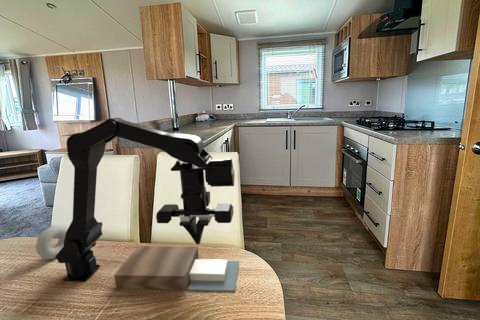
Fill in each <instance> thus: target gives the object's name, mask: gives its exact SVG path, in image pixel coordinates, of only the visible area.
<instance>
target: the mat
mask: <svg viewBox="0 0 480 320" xmlns="http://www.w3.org/2000/svg"><path fill="white" fill-rule="evenodd" d="M227 262H228V267H227V272H226V277H225V281H203V280H190V282H189V285H188V287H187V290H188V291H192V292H193V291H194V292H230V293H231V292H232V293H233V292H235V291H236V286H237V279H238V271H239V265H240V261H239V260H227Z"/></svg>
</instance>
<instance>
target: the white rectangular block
mask: <svg viewBox="0 0 480 320" xmlns="http://www.w3.org/2000/svg"><path fill="white" fill-rule="evenodd" d="M227 261H228V259H210V258H209V259H207V258H203V259H201V258H199V259H195V261H194V263H193V266H192V268H191V271H190V273H189V275H190V281H191V280H203V281H225V277H226V272H227V267H228V262H227Z"/></svg>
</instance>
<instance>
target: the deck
mask: <svg viewBox="0 0 480 320" xmlns="http://www.w3.org/2000/svg"><path fill="white" fill-rule="evenodd" d="M199 255H200V254H199V246H184V245H183V246H177V245H176V246H171V245H170V246H168V245H167V246H164V245H163V246H162V245H161V246H160V245H159V246H158V245H138V246H137V247H136V248H135V249H134V251H133V252H132V253H131V254H130V255H129V256H128V258H127V259H126V260H125V261H124V262H123V264H122V265H121V266H120V267H119V269H117V270H116V272H115V273H114V274H113V278H114V283H115V284H114V285H115V289H116V290H146V291H147V290H148V291H150V290H151V291H152V290H153V291H187V290H188V288H189V286H190V283H191V280H190V275H189V273H190V271H191V268H192V266H193V263H194V261H195V259H200V257H199Z"/></svg>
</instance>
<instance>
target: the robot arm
mask: <svg viewBox="0 0 480 320" xmlns="http://www.w3.org/2000/svg"><path fill="white" fill-rule="evenodd" d="M116 138H121V139H123V140H124V139H125V140H128V141H131V142H134V143H137V144H142V145H144V146H148V147H151V148H155V149H159V150H161V151H163V152H165V153H166V154H167V155H168V156H170V157H172V158H174V159H176V162H174V165H173V166H172V167H171V168H170V171H171V172H179V175H180V187H181V194H180V199H181V200H182V205H183V208H180V207H179V205H178V204H176V203H175V204H173V203H171V204H164V205H162V206H161V208H160V209H158V211H157V212H156V215H155V220H156V223H157V224H169V223H170V222H171V221H172V218H173V217H174V218H175V217H176V218H178V217H179V219H180V220H179V226H180V227H183V228H184V229H185V230H186V232H187V233H188V234H189V235H190V237H191V238H192V240H193V241H194V243H195V244H196V245H200V244H201V241H202V237H203V233H204V229H205V227H207V226H209V224H210V222H211V220H212V218H214V221H215V222H216V223H217V224H230V223H232V220H233V216H234V206H233V204H231V203H218V204H217V205H216V207H215V208H211V207H209V206H210V204H211V191H207V188H206V185H205V183H206V184H207V185H208V186H210V187H211V188H215V187H216V188H218V187H235V168H234V163H233V158H232V157H226V158H218V159H217V158H216V159H215V158H213V156H212V155H211V154H210V153H209V152H208V151H207V150H206V148H205V147H204V142H203V140H202V139H201V137H199V136H198V135H194V134H188V133H187V134H186V133H172V132H166V131H162V130H159V129H156V128H152V127H148V126H145V125H142V124H138V123H135V122H132V121H128V120H125V119H123V118H121V117H114V118H113V117H112V118H107V119H106V120H104V121H103V122H101V123H99V124H98V125H95V126H93V127H91V128H89V129H87V130H85V131H81V132H76V133H73V134H71V135H70V136H68V137H67V139H66V151H67V157H68V159H69V161H70V162H71V164H72V166H73V167H74V174H73V195H72V196H73V197H72V198H73V201H72V203H73V204H72V220H71V222H70V224H69V227H68V228H67V229H68V230H67V232H66V235H65V239H64V247H63V248H62V249H61V250H60V251H59V253H58V254H57V255H56V256H55V257H56V258H55V259H56V261H58V263H59V264H64V265H65V270H66V274H67V275H66V276H65V277H63V278H62V279H63V281H64V282H87V281H88V279H90V277H91V276H93V274H95V272H96V271H98V269H99V268H100V267H101V266H100V264H97V259H96V256H95V255H94V254H95V253H94V250H92V248H94V247H95V246H96V245H97V241H99V239H100V238H101V237H102V235H103V232H102V231H103V230H102V228H103V222H102V221H101V222H100V221H98V220H97V219H96V217H95V207H96V195H97V194H96V193H97V192H96V190H97V176H98V175H97V174H98V166H99V164H100V162H101V161H102V159H103V156H104V154H105V151H106V146H107V144H108V143H110V142H111V141H113V140H114V139H116ZM197 218H198V220H197Z"/></svg>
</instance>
